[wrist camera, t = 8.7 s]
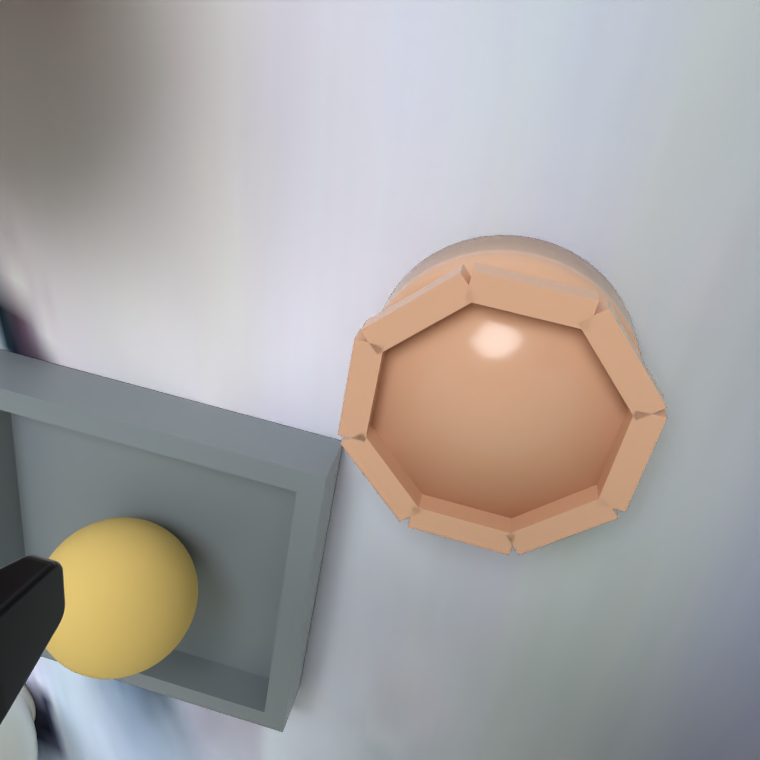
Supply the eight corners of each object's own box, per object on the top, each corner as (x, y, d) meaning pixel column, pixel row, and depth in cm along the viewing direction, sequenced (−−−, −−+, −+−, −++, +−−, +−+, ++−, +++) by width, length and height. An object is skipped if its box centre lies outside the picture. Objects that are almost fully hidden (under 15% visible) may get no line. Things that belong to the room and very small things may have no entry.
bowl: (678, 271, 17) (707, 326, 14) (587, 495, 21) (595, 579, 18) (400, 207, 18) (370, 246, 15) (357, 434, 22) (326, 504, 19)
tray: (343, 441, 22) (326, 477, 20) (299, 687, 28) (282, 732, 26) (-5, 347, 23) (-50, 374, 21) (23, 603, 29) (-10, 640, 27)
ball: (225, 507, 23) (159, 620, 19) (216, 610, 26) (156, 731, 22) (85, 471, 24) (-12, 575, 19) (89, 577, 26) (5, 689, 22)
